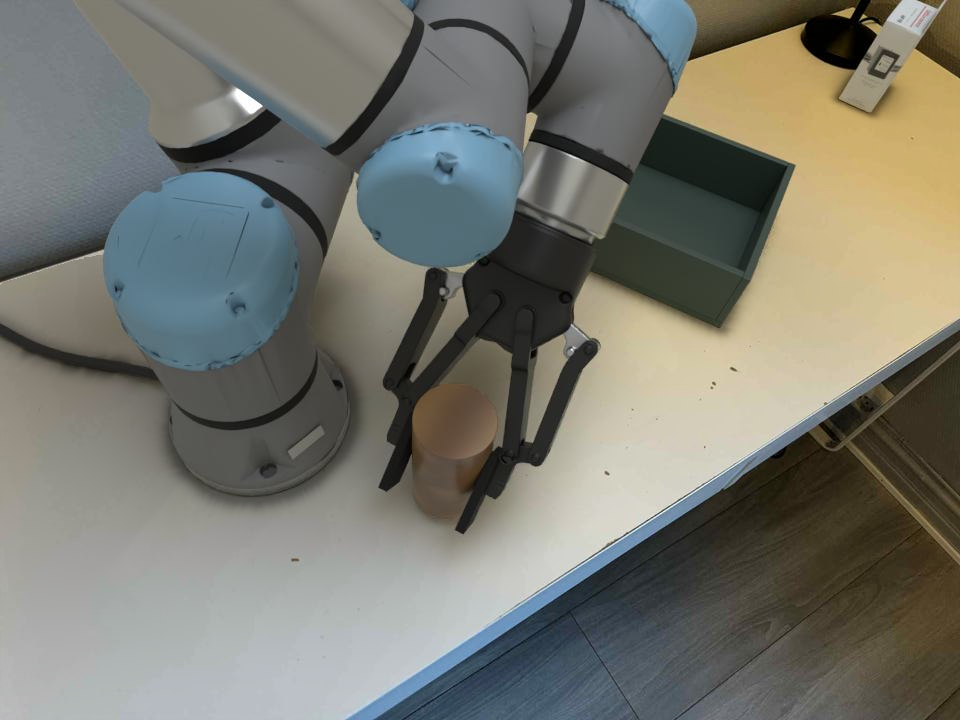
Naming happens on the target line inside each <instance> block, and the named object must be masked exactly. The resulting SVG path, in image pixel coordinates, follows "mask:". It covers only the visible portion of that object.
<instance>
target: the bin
mask: <svg viewBox="0 0 960 720" xmlns="http://www.w3.org/2000/svg"><path fill="white" fill-rule="evenodd" d="M796 167H797V164H795V163H792V162H789V161H787V160H785V159H782V158H779V157H776V156H775V155H771V154H769V153H767V152H763V151H761V150H759V149H757V148H753V147H751V146H748V145H745V144H743V143H740V142H738V141H735V140H732V139H730V138H727V137H725V136H722V135H719V134H717V133H715V132H712V131H710V130H706V129H704V128H701V127H699V126H696V125H694V124H691V123H689V122H686V121H684V120H682V119H681V120H680V119H678V118H675V117H673V116H670V115H667V114H665V113H663V115H662V117H661V119H660V121H659V123H658V125H657V127H656V129H655V131H654V133H653V135H652V138H651V140H650V142H649V144H648V146H647V148H646V150H645V152H644V154H643V156H642V158H641V160H640V162H639V164H638V166H637V168H636V170H635V172H634V174H633V178H632V180H631V182H630V184H629V187H628V189H627V192H626V194H625V196H624V198H623V200H622V202H621V205H620V207H619V209H618V211H617V213H616V215H615V218H614V220H613V222H612V224H611V226H610V228H609V231H608V233H607V235H606V237H605V238H602V239H598V238H595V240H594V245H593V247H595V248H596V251H595V253H597V256H596V258H595V261H594V263H593V265H592V267H591V269H590V271H591V272H593V273H595V274H598V275H599V276H602V277H604V278H607V279H609V280H611V281H613V282H614V283H615V282H616V283H618V284H620V285H622V286H625V287H626V288H629V289H632V290H634V291H636V292H638V293H640V294H642V295H645V296H647V297H650V298H651V299H653V300H656V301H657V302H660V303H662V304H664V305H667V306H669V307H672V308H674V309H676V310H678V311H681V312H683V313H685V314H687V315H690V316H691V317H694V318H696V319H699V320H701V321H703V322H705V323H708V324H710V325H712V326H715V327H716V328H721V327H722V326H723V324H724V322H725V321H726V319H727V318H728V316H729V315H730V314H731V312H732V310H733V309H734V307H735V306H736V304H737V303H738V301H739V299H741V296H743V293H744V292H745V290H747V287H749V284H750V283H751V281H752V279H753V276H754V273H755V271H756V268H757V267H758V263H759V261H760V258H761V256H762V253H763V250H764V248H765V245H766V243H767V241H768V238H769V236H770V233H771V230H772V228H773V225H774V223H775V220H776V218H777V215H778V213H779V210H780V208H781V205H782V202H783V199H784V197H785V195H786V193H787V190H788V187H789V185H790V182H791V180H792V177H793V174H794V171H795V170H796Z"/></svg>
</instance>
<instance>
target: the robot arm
mask: <svg viewBox="0 0 960 720" xmlns="http://www.w3.org/2000/svg"><path fill="white" fill-rule="evenodd" d="M71 1H72V3H73V4H74V5H75V6H76V8H77V9H78V10H79V11H80V13H81V14H82V15H83V16H84V18H85V19H86V20H87V22H88V23H89V24H90V26H92V28H93V29H94V30H95V32H96V33H97V34H98V35H99V37H100V38H101V40H102V41H103V42H104V43H105V45H106V46H107V47H108V48H109V50H110V51H111V52H112V54H113V55H114V56H115V58H117V60H118V61H119V62H120V64H121V65H122V66H123V68H124V69H125V70H126V71H127V73H128V74H129V75H130V76H131V78H132V80H133V81H135V83H136V84H137V85H138V87H139V88H140V90H142V92H143V93H144V94H145V96H146V97H147V98H148V99H149V100H150V105H149V106H150V107H149V112H148V119H147V130H148V133H149V135H150V136H151V138H152V139H153V140H154V142H155V143H156V144H157V145H158V147H159V148H160V149H161V151H162V152H163V153H164V154H165V156H167V157H168V158H169V160H170V161H171V162H172V163H173V165H174V166H175V167H176V168H177V171H179V173H180V174H179V175H176V176H172V177H170V178H166V179H164V180H162V181H160V190H159V191H156V192H152V191H150V190H144V191H143V192H142V191H141V193H139V194H138V195H136V196H135V197H134V198H133V199H132V200H131V201H130V202H129V203H128V204H127V205H126V206H125V207H124V208H123V209H122V211H120V213H119V214H118V216H117V217H116V219H115V220H114V222H113V223H112V226H111V228H110V230H109V233H108V235H107V238H106V240H105V244H104V248H103V253H102V272H103V279H104V283H105V287H106V290H107V292H108V294H109V296H110V299H111V301H112V303H113V306H114V311H115V313H116V316H117V318H118V320H119V321H120V323H121V326H122V328H123V329H124V331H125V334H127V336H128V337H129V339H131V340H132V342H134V345H136V346H137V348H138V349H139V351H140V353H141V354H142V355H143V357H144V359H145V360H146V362H147V363H148V365H149V366H150V367H146V366H141V365H137V364H133V363H127V362H122V361H119V360H118V361H117V360H113V359H106V358H99V357H92V356H88V355H87V356H86V355H82V354H78V353H77V354H76V353H72V352H68V351H64V350H60V349H56V348H53V347H50V346H47V345H44V344H42V343H39V342H37V341H34V340H32V339H30V338H28V337H27V336H24V335H23V334H21V333H19V332H17V331H15V330H13V329H11V328H9V327H8V326H6V325H5V324H3V323H0V336H2V337H3V338H5V339H7V340H9V341H10V342H13V343H14V344H16V345H18V346H20V347H22V348H24V349H27V350H28V351H31V352H33V353H36V354H37V355H39V356H43V357H46V358H49V359H52V360H55V361H58V362H63V363H66V364H71V365H75V366H81V367H88V368H92V369H100V370H105V371H110V372H111V371H112V372H117V373H123V374H127V375H132V376H136V377H141V378H144V379H150V380H154V381H158V382H160V384H161V385H162V386H163V388H164V390H165V391H166V393H167V394H168V395H169V397H170V402H169V407H168V429H169V435H170V438H171V442H172V445H173V447H174V450H175V452H176V453H177V455H178V457H179V459H180V460H181V462H182V463H183V464H184V466H185V467H186V468H187V469H188V471H189V472H190V473H191V474H192V475H193V476H194V477H195V478H197V479H198V480H199V481H200V482H202V483H203V484H205V485H206V486H208V487H211V488H213V489H215V490H217V491H219V492H223V493H228V494H231V495H236V496H247V497H254V496H255V497H257V496H266V495H272V494H276V493H279V492H283V491H285V490H288V489H291V488H293V487H296V486H298V485H300V484H302V483H303V482H305V481H307V480H309V479H311V478H312V477H313V476H314V475H317V473H319V472H320V471H321V470H322V469H323V468H324V467H325V466H326V465H327V464H328V463H329V462H330V461H331V459H333V457H334V456H335V455H336V453H337V452H338V450H339V449H340V447H341V445H342V443H343V442H344V439H345V436H346V434H347V430H348V427H349V422H350V411H351V409H350V401H349V394H348V389H347V385H346V382H345V380H344V377H343V375H342V374H341V372H340V369H339V368H338V367H337V365H336V363H335V362H334V361H333V360H332V358H330V356H329V355H327V353H326V352H325V351H324V350H323V349H322V348H321V347H320V346H319V345H318V344H317V343H316V339H315V335H314V330H313V325H312V321H311V307H312V301H313V298H314V295H315V291H316V289H317V285H318V283H319V278H320V276H321V272H322V268H323V266H324V262H325V259H326V257H327V256H328V255H327V254H328V252H329V249H330V245H331V242H332V240H333V238H334V234H335V231H336V229H337V226H338V223H339V220H340V217H341V215H342V211H343V208H344V205H345V202H346V200H347V196H348V193H349V191H350V189H351V186H352V184H353V181H354V178H355V174H357V175H358V177H357V179H356V181H355V187H356V208H357V210H356V211H357V213H358V216H359V218H360V220H361V223H362V224H363V225H364V226H365V228H366V229H367V230H368V231H369V233H370V234H371V235H372V239H373V241H374V242H375V243H376V244H377V245H378V246H380V247H381V248H382V249H383V250H384V251H386V252H388V253H389V254H391V255H393V256H394V257H396V258H398V259H400V260H402V261H404V262H408V263H411V264H413V265H417V266H421V267H427V268H428V269H427V270H426V271H425V275H424V282H423V290H422V291H423V292H422V298H421V300H420V302H419V304H418V306H417V308H416V310H415V312H414V314H413V316H412V318H411V321H410V323H409V324H408V327H407V329H406V331H405V333H404V334H403V337H402V339H401V341H400V344H399V346H398V347H397V350H396V352H395V354H394V355H393V358H392V360H391V361H390V363H389V366H388V368H387V370H386V372H385V374H384V376H383V378H382V382H381V383H382V387H383V388H384V390H386V391H388V392H389V391H390V392H391V393H392V394H393V395H394V396H395V397H396V399H397V401H398V406H397V410H396V411H395V414H394V416H393V419H392V421H391V424H390V426H389V429H388V430H387V433H386V443H388V444H391V445H392V446H394V449H393V451H392V454H391V456H390V459H389V461H388V463H387V465H386V467H385V470H384V472H383V475H382V478H381V479H380V482H379V484H378V486H377V487H378V489H380V490H382V491H384V492H385V493H388V492H389V491H391V490H392V489H393V488H395V486H396V485H398V484H399V483H400V482H401V481H402V478H403V476H404V474H405V471H406V470H407V469H406V468H407V466H408V465H409V462H410V460H411V458H412V416H413V411H414V408H415V406H416V404H417V402H418V401H419V399H420V398H421V397H422V396H423V395H424V394H425V393H426V392H428V391H429V390H430V389H432V388H434V387H437V386H439V385H441V383H442V382H443V381H444V379H445V378H446V377H447V376H448V375H449V374H450V373H451V372H452V371H453V369H454V368H455V367H456V366H457V364H458V363H460V361H461V360H462V359H463V358H464V357H465V355H466V354H468V352H469V351H470V350H471V349H472V348H473V347H474V346H475V344H476V343H478V342H479V341H480V340H483V341H485V342H490V343H495V344H497V345H498V346H499V347H500V348H502V349H503V350H504V351H506V352H507V353H509V354H511V360H510V369H511V372H510V379H509V386H508V397H507V406H506V413H505V420H504V429H503V437H502V446H499V445H497V446H496V447H495V448H494V450H492V453H491V454H490V455H489V457H488V459H487V461H486V463H485V465H484V467H483V469H482V472H481V474H480V476H479V478H478V480H477V482H476V485H475V487H474V489H473V491H472V493H471V495H470V498H469V500H468V502H467V504H466V506H465V508H464V511H463V513H462V515H461V517H460V518H458V519H459V520H458V521H457V523H456V526H455V527H454V531H455V532H457V533H459V534H461V535H463V536H464V535H465V533H466V532H467V531H468V529H469V528H470V527H471V526H472V525H473V523H474V522H475V520H476V518H477V516H478V514H479V511H480V509H481V507H482V505H483V503H484V501H485V498H486V496H487V497H489V498H490V499H492V500H497V499H498V498H499V497H500V496H501V495H502V494H503V492H504V491H506V490H505V489H506V488H507V485H508V484H509V482H510V479H511V478H512V475H513V474H514V471H515V469H516V467H517V465H518V464H527V465H530V466H531V467H534V468H536V467H540V466H542V465H543V463H544V462H545V461H546V459H547V457H548V455H549V454H550V452H551V449H552V447H553V445H554V442H555V440H556V438H557V435H558V432H559V430H560V428H561V426H562V424H563V420H564V418H565V415H566V413H567V410H568V408H569V405H570V402H571V400H572V398H573V395H574V393H575V390H576V388H577V385H578V383H579V380H580V378H581V376H582V373H583V370H584V369H585V368H586V367H587V366H588V365H589V363H590V362H591V361H592V360H593V359H594V358H595V357H596V356H597V354H599V352H600V351H601V348H602V344H601V342H600V341H599V339H597V338H595V337H590V336H589V335H588V334H587V333H585V332H584V331H583V330H582V329H581V328H580V327H578V326H577V324H575V323H574V322H575V304H576V302H577V299H578V297H579V295H580V292H581V290H582V288H583V287H584V284H585V283H586V279H587V278H588V275H589V273H590V271H591V270H590V269H591V267H592V265H593V263H594V261H595V258H596V256H597V253H595V251H596V248H595V247H593V245H594V240H595V238H598V239H602V238H605V237H606V235H607V233H608V231H609V228H610V226H611V224H612V222H613V220H614V218H615V215H616V213H617V211H618V209H619V207H620V205H621V202H622V200H623V198H624V196H625V194H626V192H627V189H628V187H629V184H630V182H631V180H632V178H633V174H634V172H635V170H636V168H637V166H638V164H639V162H640V160H641V158H642V156H643V154H644V152H645V150H646V148H647V146H648V144H649V142H650V140H651V138H652V135H653V133H654V131H655V129H656V127H657V125H658V123H659V121H660V119H661V117H662V115H663V114H665V111H666V109H667V107H668V105H669V103H670V101H671V99H673V98H674V96H675V94H676V92H677V91H678V87H679V83H680V81H681V78H682V75H683V73H684V70H685V68H686V65H687V64H688V61H689V58H690V56H691V52H692V48H693V47H694V43H695V40H696V38H697V33H698V22H697V18H696V16H695V13H694V11H693V9H692V8H691V6H690V5H689V3H687V2H686V1H685V0H71ZM528 112H529V113H532V114H534V115H535V116H536V120H535V122H534V127H533V130H532V131H531V133H530V135H529V138H528V140H527V143H526V146H525V147H524V145H525V136H526V135H525V134H526V125H527V114H528ZM472 263H473V265H471V266H470V267H469V268H467V270H466V271H465V272H459V271H452V270H450V269H449V268H457V267H462V266H467V265H470V264H472ZM461 288H462V291H463V296H464V301H465V305H466V312H467V317H466V319H464V321H463V322H462V323H461V324H460V325H459V327H457V329H456V330H455V331H454V333H453V335H452V337H451V338H450V339H449V340H448V341H447V342H446V343H445V345H444V346H443V347H442V348H441V349H440V350H439V352H438V353H437V354H436V355H435V356H434V357H433V358H432V360H431V361H430V362H429V363H428V364H427V365H426V367H425V368H424V369H423V370H422V372H420V373H419V375H418V376H417V377H416V379H414V380H413V381H412V380H411V378H412V376H413V374H414V372H415V370H416V368H417V367H418V364H419V362H420V360H421V358H422V356H423V354H424V352H425V350H426V348H427V346H428V343H429V342H430V340H431V337H432V336H433V334H434V331H435V329H436V328H437V325H438V324H439V322H440V320H441V318H442V315H443V314H444V311H445V309H446V307H447V305H448V301H449V300H451V299H453V298H455V297H456V296H457V293H458V292H459V290H460V289H461ZM560 336H563V337H564V339H565V344H564V346H563V348H562V354H563V356H564V358H565V359H566V362H565V364H564V365H563V367H562V369H561V371H560V373H559V375H558V378H557V379H556V380H557V381H556V382H555V385H554V387H553V391H552V393H551V396H550V398H549V401H548V403H547V406H546V408H545V411H544V413H543V416H542V419H541V420H540V423H539V426H538V428H537V430H536V434H535V436H534V439H533V441H532V442H531V441H526V438H527V432H528V423H529V415H530V408H531V399H532V391H533V386H534V385H533V384H534V375H535V369H536V365H537V361H538V355H539V354H538V353H539V348H540V347H542V346H543V345H545V344H547V343H549V342H551V341H553V340H554V339H556V338H558V337H560Z"/></svg>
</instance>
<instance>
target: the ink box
mask: <svg viewBox="0 0 960 720" xmlns="http://www.w3.org/2000/svg"><path fill="white" fill-rule="evenodd" d="M947 1H948V0H943V1H942V3H941V4H940V5H939V7H938V8H937V7H933V6H932V5H930V4H927V3H924V2H922V1H919V0H901V1H900V2H899V3H898V4H897V6H896V7H895V8H894V9H893V11H892V12H891V13H890V15H888V17H887V18H886V20H885V22H884V24H883V25H882V27H881V28H880V30H879V31H878V33H877V35H876V37H875V38H874V39H873V42H871V43H872V44H871V45H870V46H869V48H868V50H867V51H866V53H865V55H864V56H863V58H862V59H861V61H860V63H859V64H858V66H857V68H856V69H855V71H854V72H853V74H852V76H851V78H850V79H849V81H848V82H847V84H846V86H845V87H844V89H843V91H842V92H841V94H840V95H839V96H838V99H839V100H840V101H842V102H845V103H846V104H849V105H851V106H853V107H855V108H857V109H859V110H862V111H864V112H866V113H872V112H873V110H874V109H875V107H876V106H877V104H879V102H880V100H881V99H882V97H883V96H884V95H885V93H886V91H887V90H889V87H890V86H891V84H892V83H893V81H894V80H895V79H896V77H897V75H898V74H899V72H900V71H901V70H902V68H903V67H904V65H905V63H906V62H907V60H908V59H909V57H910V56H911V55H912V53H913V52H914V50H915V49H916V47H917V46H918V44H919V43H920V41H921V40H922V38H923V37H924V35H925V34H926V33H927V31H928V30H929V28H930V27H931V25H932V23H933V22H934V20H935V19H936V17H937V16H938V14H939V13H940V11H941V10H942V8H943V7H944V6H945V4H946V2H947Z"/></svg>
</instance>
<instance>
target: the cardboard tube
mask: <svg viewBox="0 0 960 720" xmlns="http://www.w3.org/2000/svg"><path fill="white" fill-rule="evenodd" d="M498 418H499V417H498V413H497V409H496V407H495V406H494V404H493V402H492V400H491V399H490V398H489V397H488V396H487V395H486V394H485V393H483V391H481V390H479V389H478V388H476V387H474V386H471V385H468V384H466V383H459V382H448V383H444V384H439V385H438V386H437V387H434V388H432V389H430V390H429V391H428V392H426V393H425V394H424V395H423V396H422V397H421V398H420V399H419V401H418V402H417V404H416V406H415V408H414V411H413V416H412V455H411V493H412V497H413V499H414V501H415V503H416V505H417V506H418V507H419V508H420V509H421V510H422V511H423V512H424V513H425V514H427V515H428V516H430V517H432V518H435V519H438V520H445V521H446V520H447V521H451V520H457V519H460V517H461V515H462V513H463V511H464V508H465V506H466V504H467V502H468V500H469V498H470V495H471V493H472V491H473V489H474V487H475V485H476V482H477V480H478V478H479V476H480V474H481V472H482V469H483V467H484V465H485V463H486V461H487V459H488V457H489V455H490V454H491V453H492V452H493V449H494V445H495V441H496V436H497V432H498V427H499V419H498Z"/></svg>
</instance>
